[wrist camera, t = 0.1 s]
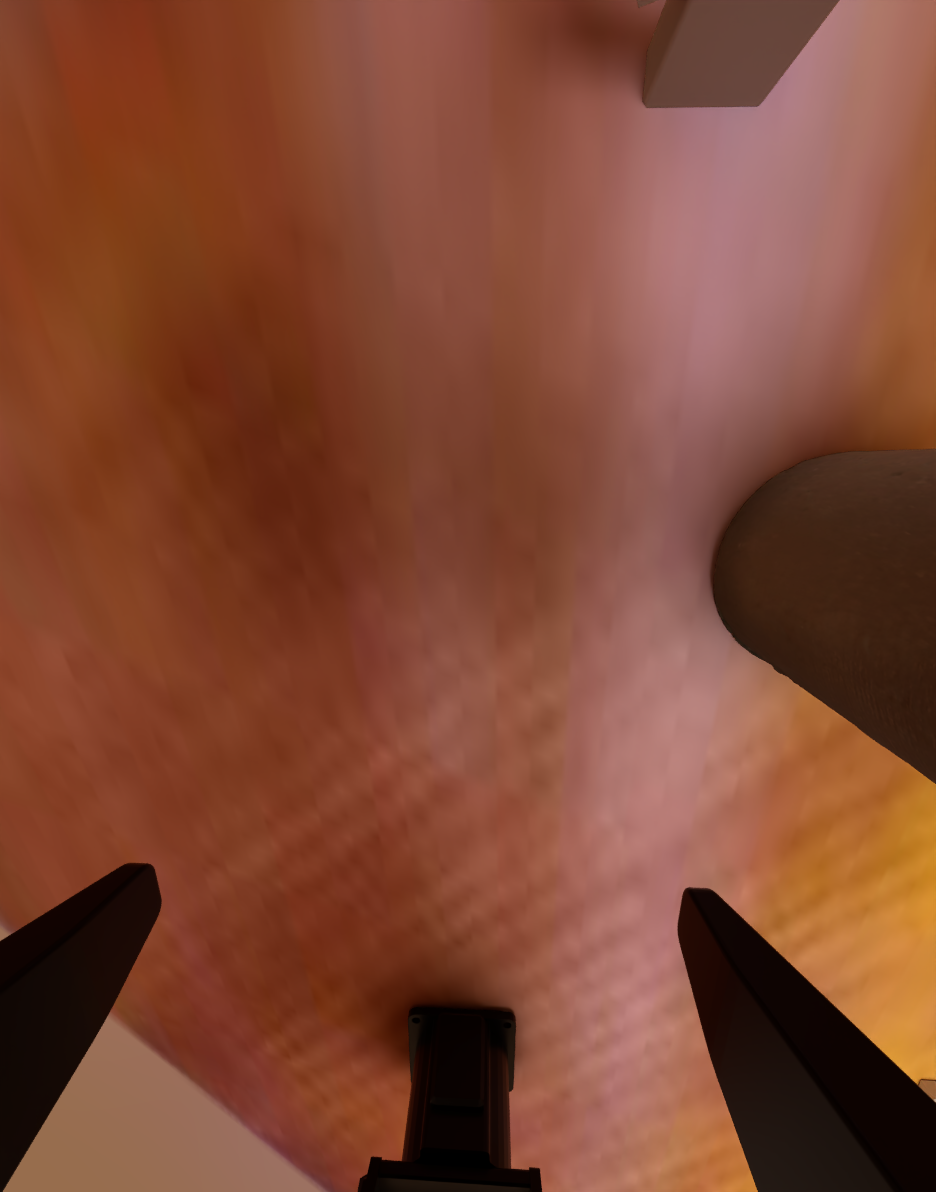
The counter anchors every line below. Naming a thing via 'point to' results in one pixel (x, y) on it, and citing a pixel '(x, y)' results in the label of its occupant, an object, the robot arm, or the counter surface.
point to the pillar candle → (844, 589)
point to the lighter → (726, 49)
